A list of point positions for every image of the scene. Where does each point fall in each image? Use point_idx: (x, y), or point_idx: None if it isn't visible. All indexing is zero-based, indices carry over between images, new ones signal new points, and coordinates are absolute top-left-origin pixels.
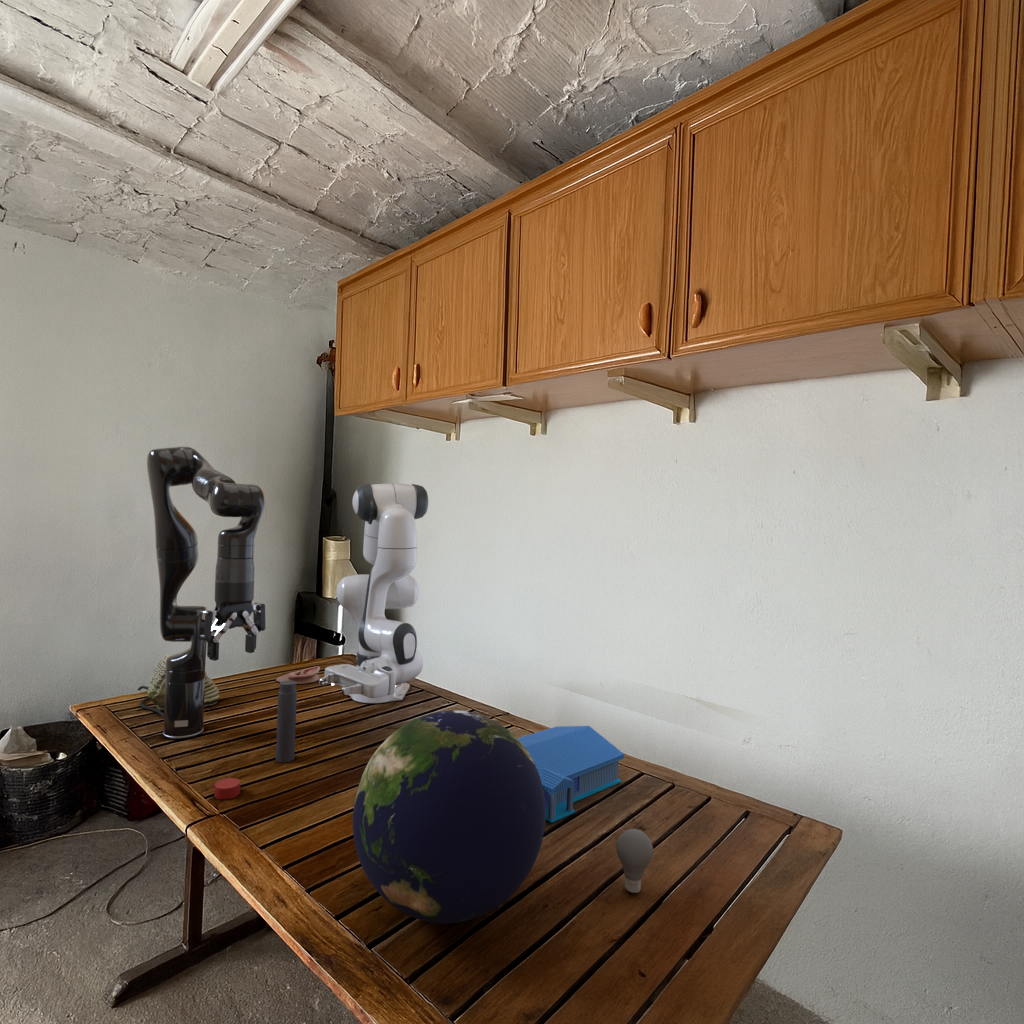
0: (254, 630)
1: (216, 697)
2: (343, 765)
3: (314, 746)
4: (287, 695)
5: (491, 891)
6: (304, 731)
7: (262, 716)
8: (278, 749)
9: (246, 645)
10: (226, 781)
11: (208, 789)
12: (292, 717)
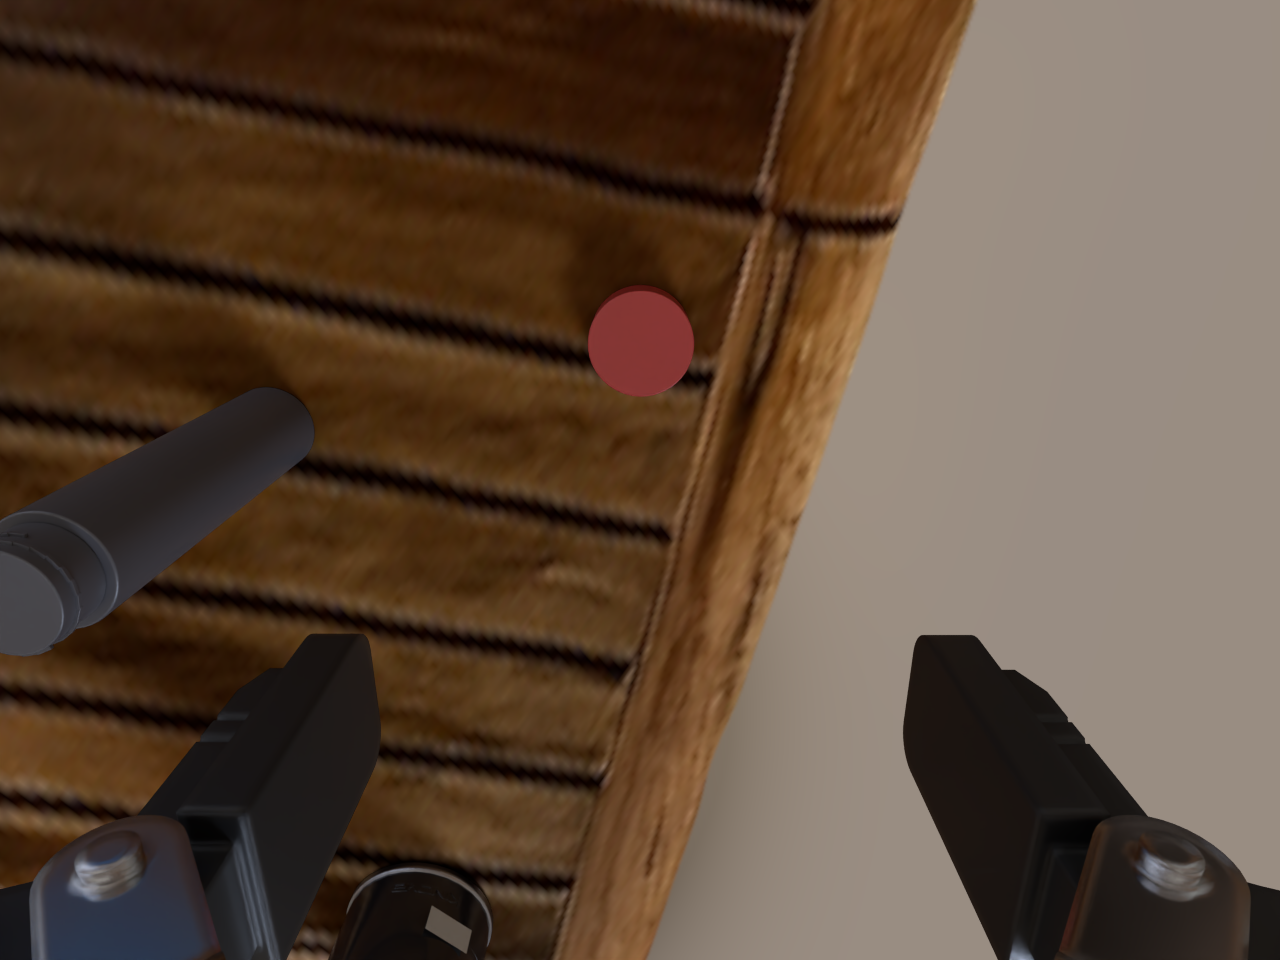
0: (125, 909)
1: None
2: (104, 137)
3: (92, 432)
4: (89, 521)
5: None
6: None
7: None
8: (290, 444)
9: (348, 792)
10: (633, 363)
11: (658, 433)
12: (147, 451)
